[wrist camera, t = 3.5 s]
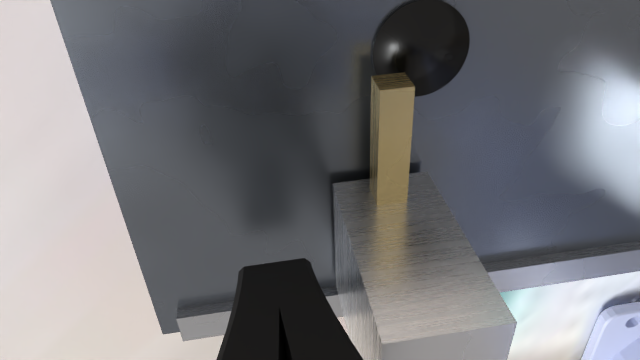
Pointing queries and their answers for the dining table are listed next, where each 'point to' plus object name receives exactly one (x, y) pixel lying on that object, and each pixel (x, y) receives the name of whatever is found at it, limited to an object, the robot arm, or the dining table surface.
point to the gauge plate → (359, 132)
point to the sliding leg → (410, 254)
